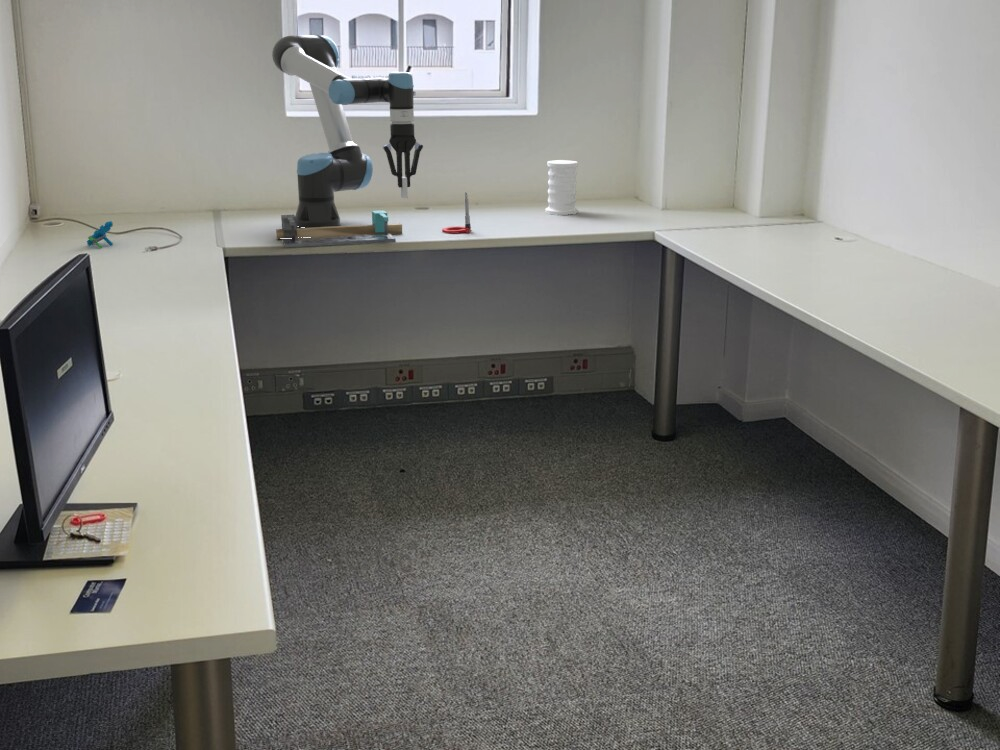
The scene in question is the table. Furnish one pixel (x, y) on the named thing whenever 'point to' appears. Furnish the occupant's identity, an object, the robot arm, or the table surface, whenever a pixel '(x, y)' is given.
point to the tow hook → (467, 221)
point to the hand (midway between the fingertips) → (404, 197)
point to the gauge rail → (328, 229)
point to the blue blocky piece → (100, 235)
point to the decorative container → (562, 187)
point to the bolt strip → (338, 240)
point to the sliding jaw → (380, 221)
